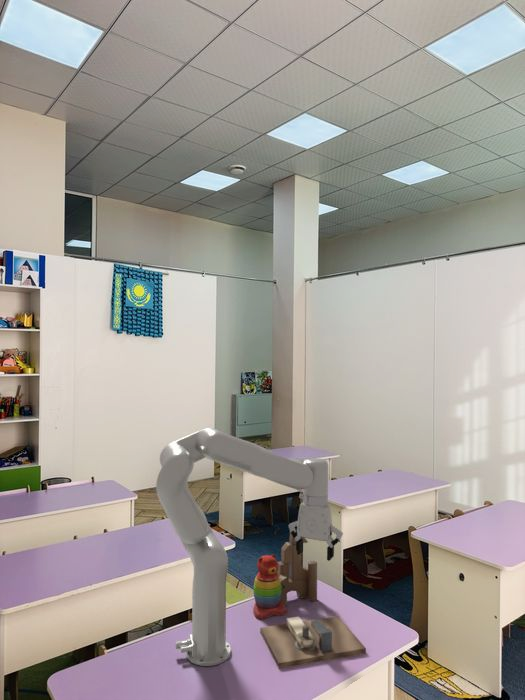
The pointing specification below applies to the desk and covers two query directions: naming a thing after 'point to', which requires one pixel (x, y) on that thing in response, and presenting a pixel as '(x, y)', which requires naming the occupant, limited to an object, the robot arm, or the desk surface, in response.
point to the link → (301, 632)
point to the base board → (293, 655)
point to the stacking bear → (267, 589)
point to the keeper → (323, 636)
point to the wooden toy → (296, 573)
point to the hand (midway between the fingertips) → (314, 556)
